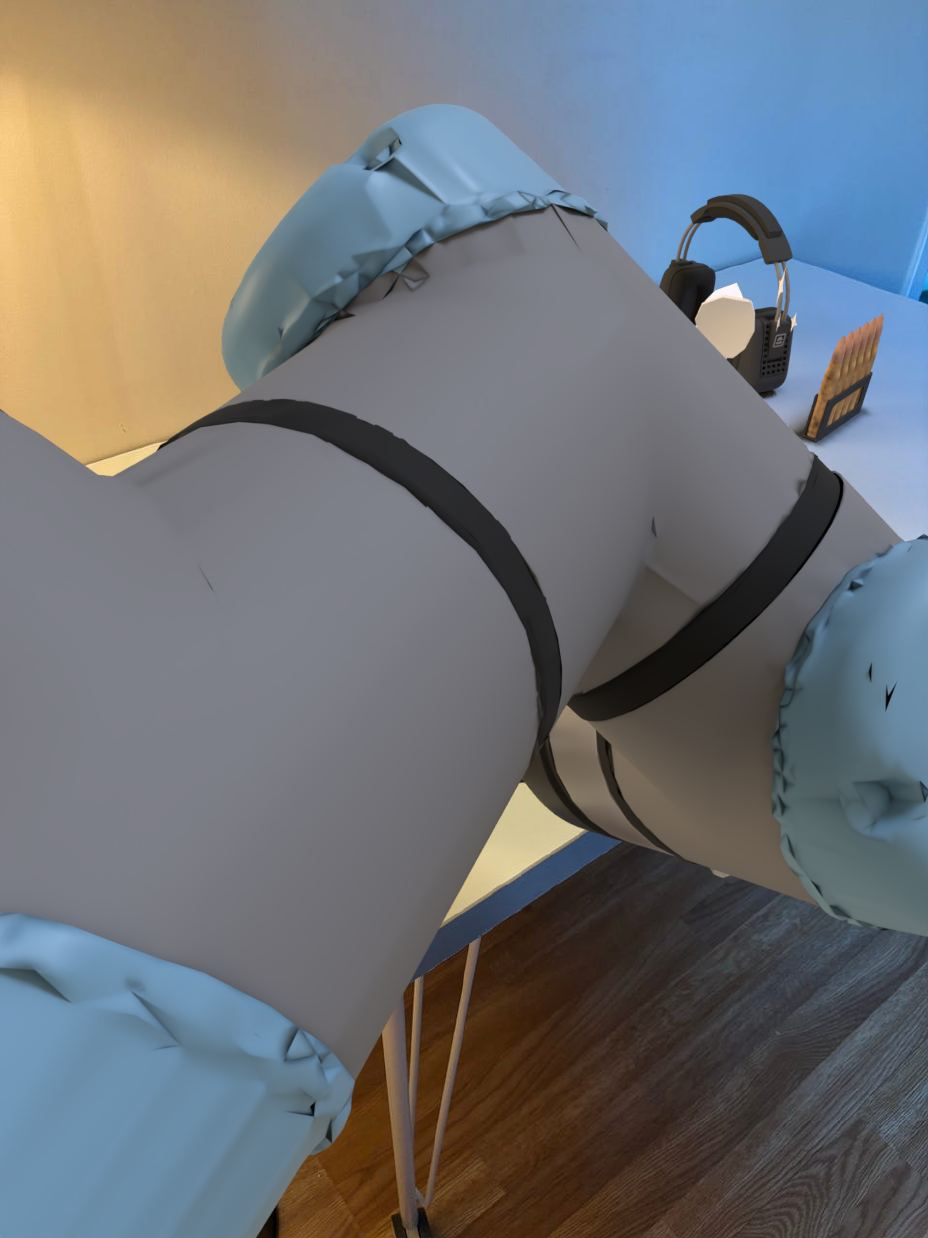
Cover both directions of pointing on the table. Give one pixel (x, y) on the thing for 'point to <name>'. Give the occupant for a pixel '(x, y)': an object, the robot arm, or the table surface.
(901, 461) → the table surface
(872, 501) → the table surface
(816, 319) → the table surface
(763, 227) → the headphones
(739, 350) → the potted plant
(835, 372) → the ammunition clip
